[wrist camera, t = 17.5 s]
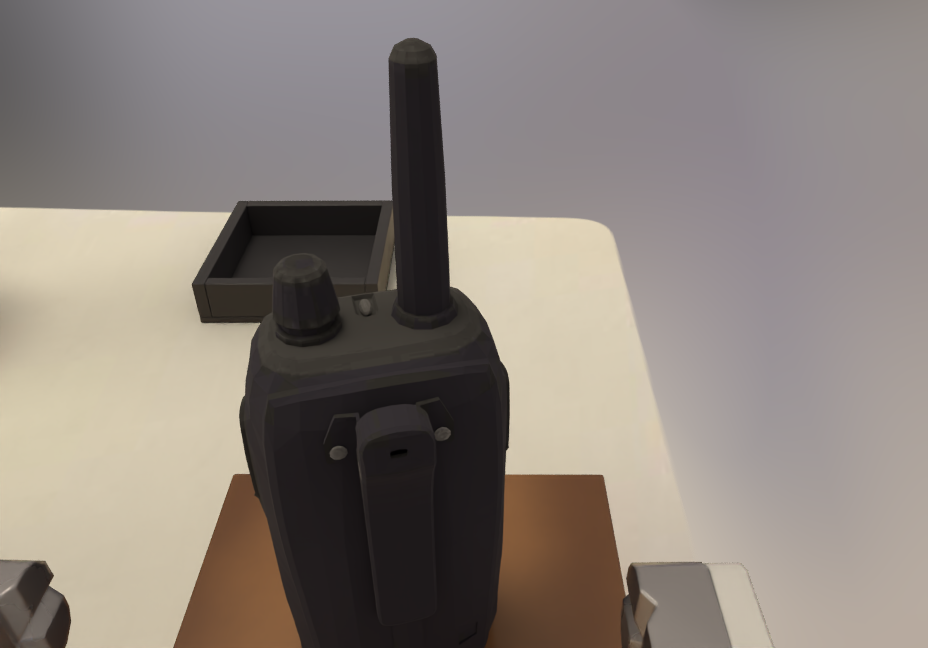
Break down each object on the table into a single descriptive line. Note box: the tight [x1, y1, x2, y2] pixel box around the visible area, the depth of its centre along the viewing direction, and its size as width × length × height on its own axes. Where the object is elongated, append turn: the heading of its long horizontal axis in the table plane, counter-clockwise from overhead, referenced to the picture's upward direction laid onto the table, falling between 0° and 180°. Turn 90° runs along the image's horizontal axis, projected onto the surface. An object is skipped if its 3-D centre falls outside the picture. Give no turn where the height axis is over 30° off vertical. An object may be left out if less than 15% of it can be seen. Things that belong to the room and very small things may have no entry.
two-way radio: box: [239, 38, 510, 648], centre depth 15 cm, size 6×4×15 cm
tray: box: [192, 201, 395, 322], centre depth 53 cm, size 12×12×3 cm
